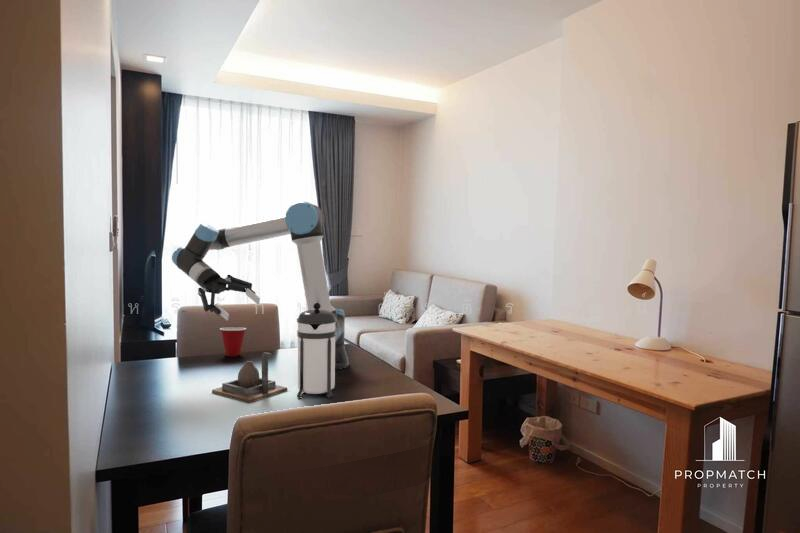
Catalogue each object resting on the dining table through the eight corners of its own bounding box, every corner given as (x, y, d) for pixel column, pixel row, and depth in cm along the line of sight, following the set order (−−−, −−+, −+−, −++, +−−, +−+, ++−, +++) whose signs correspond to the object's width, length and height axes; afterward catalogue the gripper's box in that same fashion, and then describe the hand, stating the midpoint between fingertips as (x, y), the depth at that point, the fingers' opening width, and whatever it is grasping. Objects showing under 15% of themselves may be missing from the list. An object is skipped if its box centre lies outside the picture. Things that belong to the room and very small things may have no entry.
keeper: (250, 381, 180) (250, 342, 180) (288, 390, 170) (288, 349, 170) (212, 392, 167) (212, 350, 166) (250, 403, 157) (250, 358, 156)
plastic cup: (250, 352, 226) (250, 325, 225) (240, 358, 215) (240, 330, 215) (226, 351, 227) (226, 325, 226) (215, 357, 216) (215, 329, 216)
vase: (240, 385, 172) (240, 359, 172) (261, 385, 173) (261, 359, 172) (235, 391, 165) (235, 364, 165) (257, 391, 166) (257, 364, 165)
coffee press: (350, 393, 169) (351, 303, 167) (310, 403, 157) (311, 307, 156) (319, 382, 181) (320, 298, 179) (280, 391, 169) (280, 301, 168)
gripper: (232, 271, 199) (269, 302, 191) (174, 297, 180) (213, 332, 173) (233, 256, 194) (271, 287, 187) (174, 281, 176) (214, 316, 169)
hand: (243, 309), depth 180 cm, fingers open, 13 cm apart
